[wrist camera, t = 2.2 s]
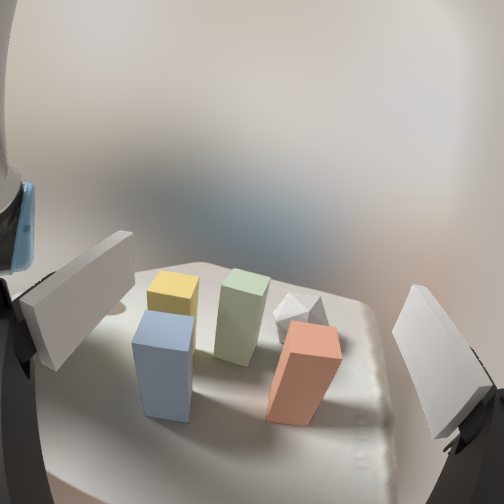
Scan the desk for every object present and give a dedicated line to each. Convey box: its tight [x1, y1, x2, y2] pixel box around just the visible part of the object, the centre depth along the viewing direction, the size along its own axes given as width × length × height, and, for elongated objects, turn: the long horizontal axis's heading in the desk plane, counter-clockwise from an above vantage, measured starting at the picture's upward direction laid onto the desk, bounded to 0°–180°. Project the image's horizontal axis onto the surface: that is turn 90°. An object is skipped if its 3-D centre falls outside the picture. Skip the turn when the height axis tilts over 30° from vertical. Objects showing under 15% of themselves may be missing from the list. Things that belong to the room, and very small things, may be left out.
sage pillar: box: [213, 268, 271, 367], centre depth 37 cm, size 5×5×12 cm
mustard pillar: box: [147, 270, 199, 355], centre depth 34 cm, size 5×5×12 cm
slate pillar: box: [132, 310, 195, 423], centre depth 27 cm, size 5×5×12 cm
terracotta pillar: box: [266, 320, 342, 426], centre depth 29 cm, size 5×5×12 cm
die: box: [273, 293, 329, 343], centre depth 43 cm, size 8×9×10 cm
